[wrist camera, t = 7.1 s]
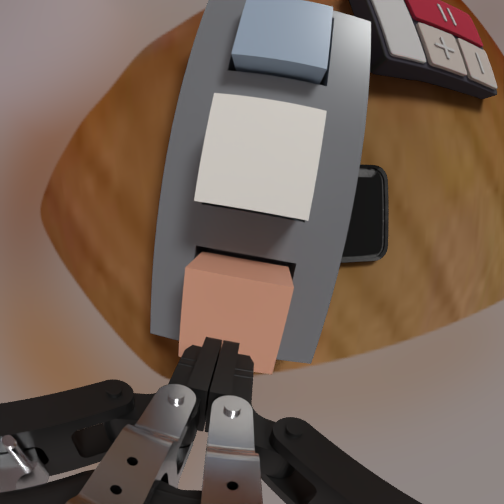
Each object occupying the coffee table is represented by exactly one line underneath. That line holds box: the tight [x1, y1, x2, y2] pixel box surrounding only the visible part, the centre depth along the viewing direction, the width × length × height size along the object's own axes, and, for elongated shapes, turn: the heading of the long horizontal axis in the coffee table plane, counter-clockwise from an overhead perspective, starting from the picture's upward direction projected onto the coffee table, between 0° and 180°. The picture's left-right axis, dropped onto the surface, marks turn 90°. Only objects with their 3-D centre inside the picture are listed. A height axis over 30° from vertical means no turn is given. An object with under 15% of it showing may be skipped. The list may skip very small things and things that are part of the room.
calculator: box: [349, 0, 497, 99], centre depth 15 cm, size 11×4×15 cm
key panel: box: [150, 0, 371, 363], centre depth 18 cm, size 12×26×5 cm, turn 170°
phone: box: [341, 165, 388, 263], centre depth 21 cm, size 8×1×15 cm
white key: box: [194, 93, 327, 221], centre depth 14 cm, size 6×6×4 cm
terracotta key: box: [178, 251, 294, 374], centre depth 16 cm, size 6×6×4 cm
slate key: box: [231, 0, 333, 85], centre depth 14 cm, size 6×6×4 cm
